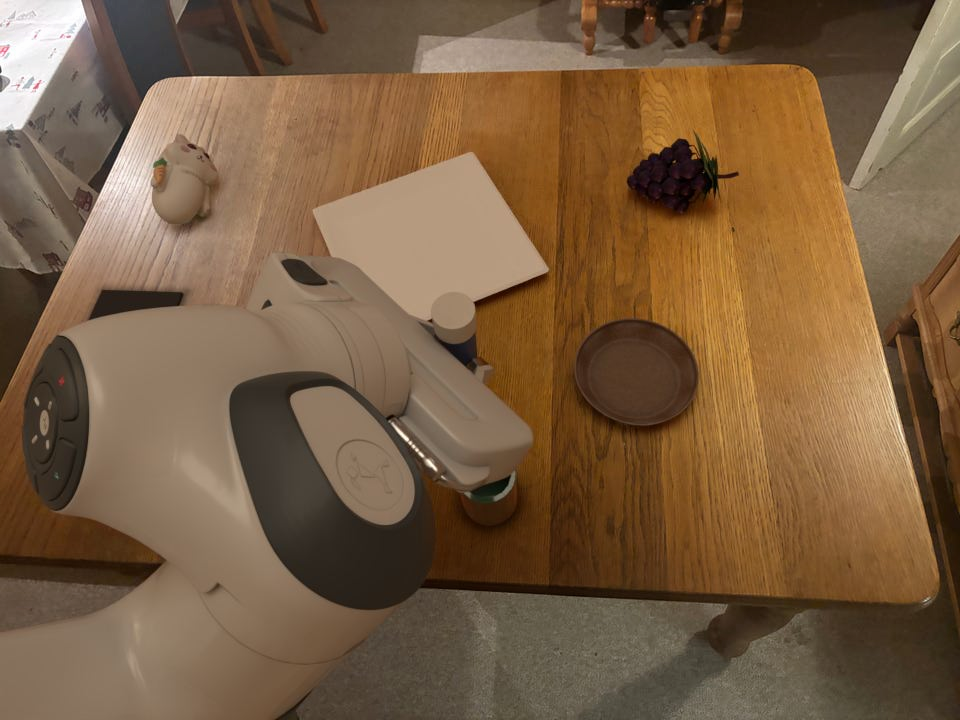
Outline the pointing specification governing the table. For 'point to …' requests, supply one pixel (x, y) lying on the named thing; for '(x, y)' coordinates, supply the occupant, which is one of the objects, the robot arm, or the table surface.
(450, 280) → the beige flat square slab
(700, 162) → the fruit
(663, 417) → the saucer
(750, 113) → the table surface
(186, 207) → the cat figurine
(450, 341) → the marker
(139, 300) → the mat
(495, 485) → the pen pot
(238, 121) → the table surface
